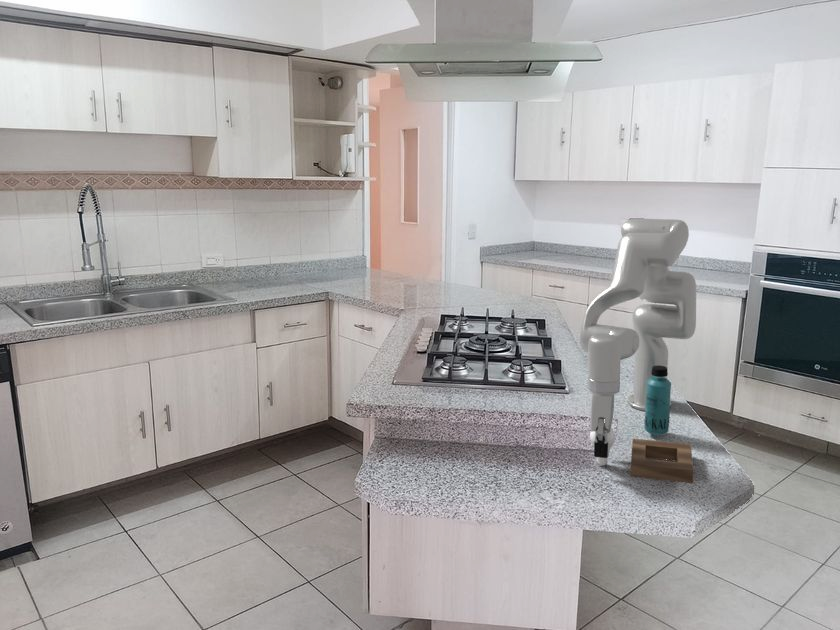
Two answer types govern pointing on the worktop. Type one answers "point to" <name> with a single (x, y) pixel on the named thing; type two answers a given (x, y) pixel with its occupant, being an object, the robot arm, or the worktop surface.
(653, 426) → the beverage bottle
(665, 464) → the socket block
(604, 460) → the lightbulb
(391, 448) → the worktop surface
